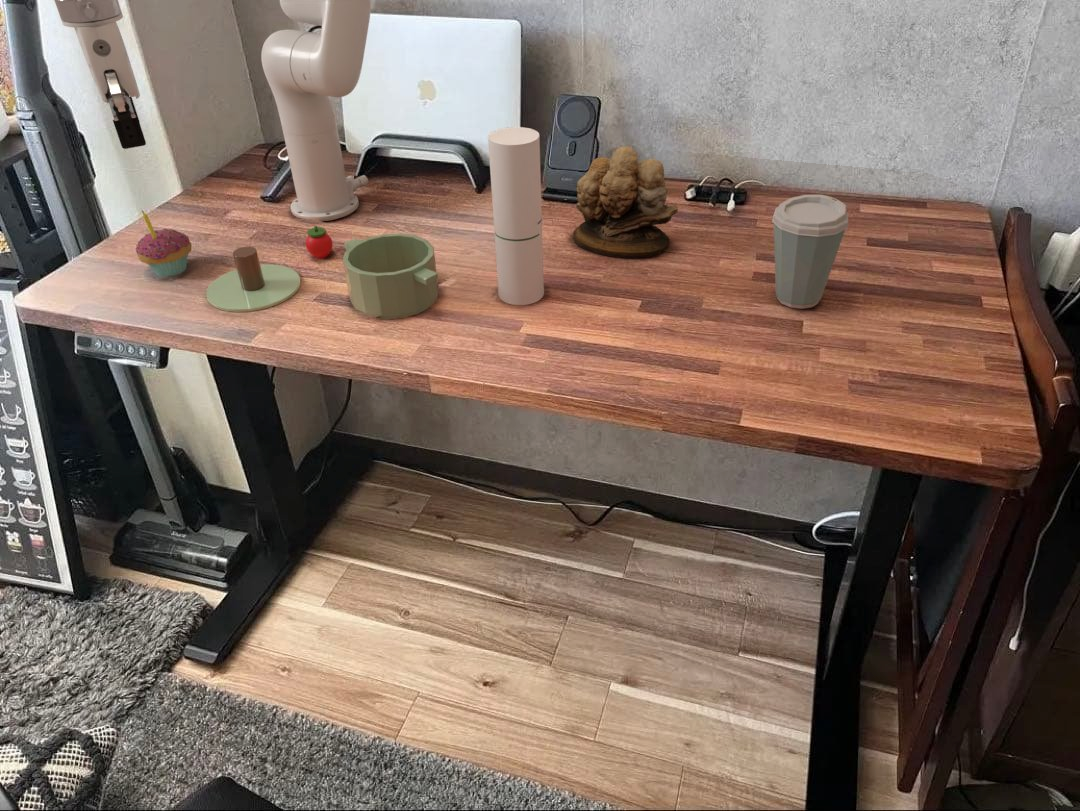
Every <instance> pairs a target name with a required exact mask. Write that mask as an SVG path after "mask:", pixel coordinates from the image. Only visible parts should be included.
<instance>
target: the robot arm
mask: <svg viewBox="0 0 1080 811" xmlns="http://www.w3.org/2000/svg"><path fill="white" fill-rule="evenodd" d="M53 1H54V3H55V6H56V9H57V12H58V15H59V18H60V20H61V23H62V26H63V27H67V28H74V31H75V34H76V36H77V39H78V42H79V45H80V47H81V50H82V53H83V56H84V58H85V61H86V64H87V67H88V70H89V73H90V74H91V76H92V79H93V81H94V84H95V86H96V89H97V91H98V93H99V95H100V97H101V100H102V102H104V103H106V104H109V107H110V111H111V114H112V117H113V119H112V123H113V126H114V128H115V131H116V134H117V137H118V140H119V143H120V146H121V148H122V149H124V150H127V149H134V148H138V147H143V146H146V145H147V140H146V139H145V135H144V133H143V129H142V126H141V124H140V118H139V115H138V112H137V110H136V106H135V104H134V100H133V98H135V99H136V100H137V99H139V98H140V96H141V93H140V90H139V87H138V83H137V79H136V76H135V74H134V73H135V72H134V71H133V68H132V64H131V61H130V58H129V55H128V51H127V48H126V45H125V42H124V40H123V36H122V33H121V31H120V28H119V26H118V23H117V22H118V21H120V20H122V19H123V18H124V15H123V12H122V8H121V5H120V2H119V0H53ZM371 2H372V0H279V6H280V8H281V9H282V12H283V13H284V14H285V16H287V17H288V18H289V19H291V20H293V21H295V22H298V23H303V24H308V25H313V26H320V27H321V29H320V33H317V32H312V31H306V30H299V29H282V30H281V29H280V30H277V31H274V32H273V33H271V34H270V35H269V36H268V37H267V38H266V39H265V41H264V43H263V45H262V48H261V53H260V54H261V56H260V58H261V66H262V69H263V73H264V76H265V78H266V80H267V83H268V85H269V87H270V90H271V93H272V96H273V98H274V101H275V106H276V108H277V112H278V116H279V120H280V124H281V125H280V126H281V129H282V133H283V138H284V144H285V148H286V153H287V158H288V162H289V167H290V172H291V175H292V179H293V180H292V181H293V185H294V190H295V194H296V198H295V199H294V200H292V202H291V203H290V206H289V207H290V211H291V214H292V215H293V216H295V217H296V218H298V219H302V220H308V221H319V222H329V221H335V220H338V219H341V218H345V217H347V216H349V215H350V214H352V213H354V212H355V211H356V210H357V209H358V207H359V203H360V202H359V197H358V196H357V194H355V192H356V191H357V189H360V188H363V187H366V186H368V185H369V179H368V177H367V176H366V175H365V174H363V175H360V176H357V177H355V178H354V176H353V175H348V176H347V175H346V171H345V165H344V160H343V153H342V147H341V142H340V136H339V132H338V131H339V130H338V125H337V123H338V122H337V118H336V113H335V109H334V106H333V103H332V101H331V98H343V97H346V96H348V95H350V94H351V93H352V92H353V91H354V90H355V89H356V87H357V85H358V83H359V81H360V77H361V73H362V69H363V63H364V57H365V51H366V45H367V39H368V32H369V26H370V20H371V12H372V11H371V10H372V3H371ZM330 97H331V98H330Z"/></svg>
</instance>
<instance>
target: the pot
mask: <svg viewBox="0 0 1080 811" xmlns="http://www.w3.org/2000/svg"><path fill="white" fill-rule="evenodd" d="M343 246H344V250H345V251H344V252H343V258H342V265H343V270H344V276H345V282H346V287H347V291H348V297H349V301H350V303H351V304H352V307H354V309H356V310H357V311H360V312H361V313H364V314H366V315H371V316H375V319H376V320H377V319H378V320H396V319H398V320H399V319H402V318H403V319H404V318H407V317H412V316H415V315H418V314H420V313H422V312H424V311H426V310H428V309H430V307H432V306H433V305H434V304H435V303H436V301H437V300H438V297H439V282H438V280H439V273H438V271H437V264H436V254H435V247H434V245H432V244H431V242H429V240H427V239H426V238H423V237H422V236H421V237H420V236H418V235H414V234H407V233H388V234H387V233H385V234H379V235H373V236H370V237H367V238H364V239H359V238H357V237H355V238H352V239H350V240H347V241H345V242H343Z"/></svg>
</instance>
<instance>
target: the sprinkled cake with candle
mask: <svg viewBox="0 0 1080 811" xmlns="http://www.w3.org/2000/svg"><path fill="white" fill-rule="evenodd" d="M141 212H142V218H143V220H144V222H145V224H146V227H147V228H148V230H149V233H147V234H145V235H144V236H143V237H141V239H140V240H138V242H137V244H136V246H135V252H136V255H137V258H138V260H139V261H140V263H141V262H142V263H144V264H146V265H148V266H149V267H150V268H151V270H152V271H153V272H154V274H155V275H156V276H158V277H162V278H169V277H174V276H177V275H180V274H182V273H184V272H185V271H186V270H187V268H188V263H187V262H188V257H189V254H190V252H192V242H191V241H190V238H189V236H188V235H186V234H185V233H182V232H180V231H177V230H175V229H169V228H163V229H157V230H155V229H154V227H153V224H152V223H151V220H150V218H149V216H148V214H147V213H146V212H144V210H143V209H141Z"/></svg>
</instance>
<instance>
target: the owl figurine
mask: <svg viewBox="0 0 1080 811" xmlns="http://www.w3.org/2000/svg"><path fill="white" fill-rule="evenodd" d="M588 168H589V169H588V170H587V171H586V173H585V174H584V175H582V176H581V177H580V178H579V179H578V181H577V183H576V184H577V188H576V192H577V194H576V196H577V203H576V204H575V206H576V209H577V211H579V213H581V214H582V217H583V219H584V221H583V222H582V223H580V225H579V226H578V227H576V228H575V229H574V231H573V234H572V239H573V242H574V243H575V245H576V246H578V247H579V248H581V249H583V250H586V251H588V252H591V253H594V254H598V255H603V256H608V257H614V258H621V259H622V258H623V259H624V258H625V259H640V258H648V257H653V256H656V255H659V254H660V253H664V252H665V250H666V249H667V248H668V247H669V245H670V243H671V240H670V237H669V236H668V235H667V234H666V233H665V232H664V231H663V230H662V229H661V228H659V227H658V225H666V224H668V223H669V222H670V221H671V220H672V216H674V215H676V214H677V212H678V211H679V207H678V205H676V204H675V205H674V204H673V205H669V206H668V205H667V204H666V202H667V199H668V198H667V197H668V196H667V194H668V189H667V187H666V182H665V168H664V164H663V163H662V161H660V160H658V159H655V158H647V159H643V160H641V161H640V162H639V156H638V152H637V151H636V150H635V149H634V148H633V146H628V145H623V146H619V147H617V149H615V151H613V153H612V156H611V158H608V157H605V156H600V157H597V158H595V159H593V161H592V162H591V164H590V166H589V167H588ZM656 225H657V226H656Z"/></svg>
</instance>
